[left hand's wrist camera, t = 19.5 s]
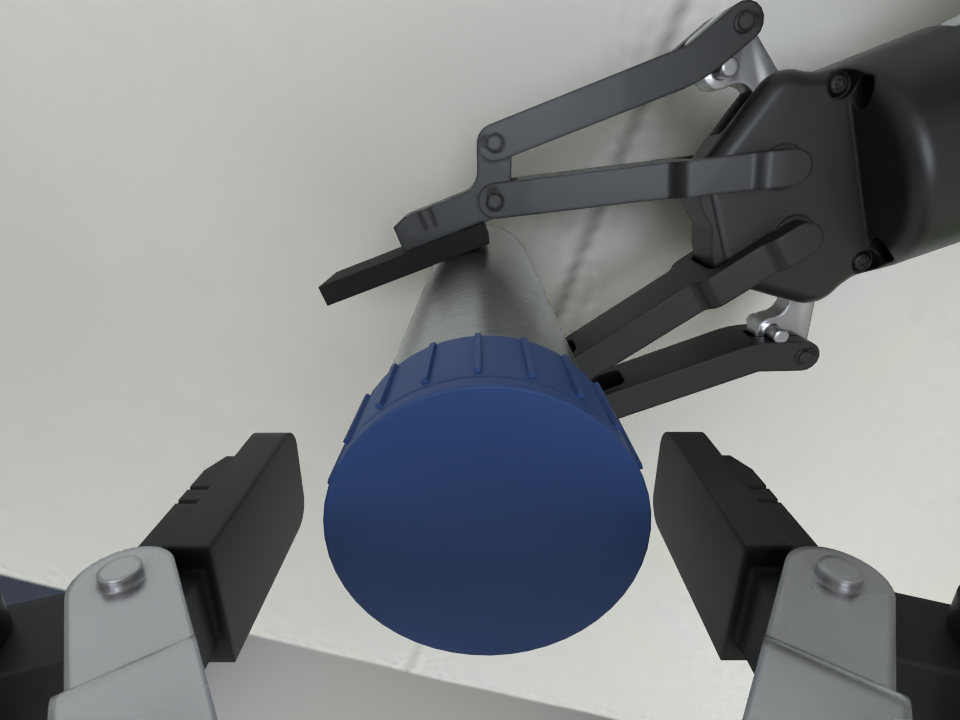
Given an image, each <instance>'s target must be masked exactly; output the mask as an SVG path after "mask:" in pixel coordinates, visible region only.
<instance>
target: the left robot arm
mask: <svg viewBox="0 0 960 720" xmlns="http://www.w3.org/2000/svg"><path fill="white" fill-rule="evenodd" d="M653 509H654V516H655V520H656V524H657V526H658V528H659V531H660V533H661V535H662V537H663V539H664V541H665V543H666V545H667V547H668V550H669V552H670V554H671V556H672V558H673V560H674V562H675V564H676V566H677V569H678V571H679V573H680V575H681V577H682V579H683V581H684V583H685V585H686V588H687V590H688V592H689V594H690V596H691V598H692V600H693V602H694V604H695V607H696V609H697V611H698V613H699V615H700V617H701V619H702V621H703V623H704V626H705V628H706V630H707V632H708V634H709V636H710V638H711V640H712V642H713V645H714V647H715V649H716V651H717V653H718V655H719V657H720V659H721V660H747V661H748V663H749V665H750V667H751V669H752V671H753V673H754V678H753V682H752V685H751V689H750V693H749V697H748V700H747V704H746V708H745V712H744V715H743V719H742V720H960V585H959V587H958V589H957V591H956V594H955V596H954V599H953V601H952V604H951V605H950V604H945V603H941V602H936V601H932V600H927V599H922V598H918V597H913V596H909V595H904V594H900V593H895V592H894V590H893V588H892V586H891V585H890V584H889V582H888V581H887V580H886V579H885V578H884V577H883V576H882V575H881V574H880V573H879V572H878V571H877V570H875V569H874V568H873V567H871V566H870V565H868V564H867V563H865V562H863V561H861V560H860V559H858V558H855V557H853V556H851V555H849V554H846V553H844V552H841V551H837V550H834V549H830V548H825V547H818V546H817V544H816V543H815V542H814V541H813V540H812V539H811V537H810V536H809V535H808V534H807V533H806V532H805V530H804V529H803V528H802V527H801V526H800V525H799V523H798V522H797V521H796V520H795V519H794V518H793V516H792V515H791V514H790V513H789V512H788V511H787V509H786V508H785V507H784V506H783V505H782V504H781V503H778V499H777V498H776V497H775V495H774V494H773V493H772V492H771V491H770V490H769V489H766V485H765V484H764V483H763V481H762V480H761V479H760V478H759V477H758V476H757V474H756V473H755V472H754V471H753V470H752V469H751V468H749V467H748V466H746V465H744V464H743V463H741V462H740V461H738V460H736V459H735V458H733V457H732V456H730V455H721V454H720V452H719V451H718V450H717V448H716V447H715V446H714V445H713V443H712V442H711V441H710V440H709V438H708V437H707V436H706V435H705V434H704V433H703V432H665V433H664V434H663V436H662V439H661V443H660V450H659V457H658V465H657V472H656V480H655V487H654V495H653ZM303 512H304V494H303V486H302V479H301V472H300V464H299V457H298V450H297V443H296V439H295V437H294V435H293V434H292V433H254V434H252V435H251V437H250V438H249V439H248V440H247V442H246V443H245V444H244V445H243V446H242V448H241V449H240V450H239V451H238V453H237V454H236V455H235V456H226V457H225V458H223V459H222V460H220V461H219V462H217V463H215V464H214V465H212V466H211V467H209V468H207V469H206V470H204V471H203V473H202V474H201V475H200V476H199V477H198V478H197V479H196V481H195V482H194V483H193V484H192V485H191V486H190V490H187V491H186V492H185V493H184V494H183V496H182V497H181V498H180V499H179V502H178V504H175V505H174V506H173V507H172V508H171V510H170V511H169V512H168V513H167V514H166V515H165V516H164V518H163V519H162V520H161V521H160V522H159V523H158V525H157V526H156V527H155V528H154V529H153V530H152V531H151V533H150V534H149V535H148V536H147V537H146V538H145V540H144V541H143V542H142V543H141V544H140V545H139V546H138V547H135V548H130V549H126V550H123V551H119V552H116V553H114V554H111V555H109V556H107V557H105V558H102V559H100V560H99V561H97V562H95V563H93V564H92V565H90V566H89V567H87V568H86V569H85V570H83V571H82V572H81V573H80V574H79V575H78V576H77V577H76V578H75V579H74V580H73V581H72V582H71V584H70V585H69V586H68V588H67V590H66V593H63V594H59V595H55V596H50V597H45V598H41V599H37V600H32V601H27V602H23V603H18V604H14V605H9V606H6V604H5V601H4V599H3V596H2V594H1V591H0V720H218V719H217V715H216V712H215V708H214V704H213V701H212V697H211V693H210V689H209V685H208V682H207V678H206V674H205V668H206V666H207V664H208V662H235V661H236V659H237V657H238V655H239V653H240V650H241V648H242V646H243V644H244V642H245V640H246V638H247V636H248V634H249V632H250V630H251V628H252V626H253V624H254V621H255V619H256V617H257V615H258V613H259V611H260V609H261V607H262V605H263V603H264V601H265V599H266V596H267V594H268V592H269V590H270V588H271V586H272V584H273V582H274V580H275V578H276V576H277V574H278V572H279V569H280V567H281V565H282V563H283V561H284V559H285V557H286V555H287V553H288V551H289V549H290V547H291V544H292V542H293V540H294V538H295V536H296V534H297V532H298V530H299V528H300V525H301V522H302V518H303Z"/></svg>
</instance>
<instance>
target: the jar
mask: <svg viewBox="0 0 960 720" xmlns="http://www.w3.org/2000/svg"><path fill="white" fill-rule="evenodd" d="M486 227H487V230H488V232H489V241H490V244H488V245H485V246H482V247H480V248H477V249H475V250H472V251H469V252H467V253H464V254H461V255H459V256H456V257H454V258H451V259H448V260H446V261H443V262H441V263H438V264H435V265H433V268H432V270H431V273H430V275H429V277H428V280H427V282H426V285H425V287H424V290H423V292H422V294H421V297H420V299H419V302H418V304H417V306H416V309H415V311H414V314H413V316H412V319H411V321H410V323H409V326H408V328H407V331H406V333H405V335H404V338H403V340H402V343H401V345H400V347H399V350H398V352H397V355H396V357H395V360H394V362H393V364H394V363H396V364H397V365H398V364H400V363H401V362H403V361H404V360H406V359H407V358H408V357H410V356H411V355H413V354H415V353H417V352H419V351H421V350H423V349H425V348H427V347H429V344H430V343H432V342H435V343H436V344H438V343H441V342H444V341H447V340H452V339H456V338H461V337H469V336H475V333H481V335H489V336H505V337H511V338H517V339H521V337H525V338H527V340H528V342H532V343H535V344H538V345H540V346H543V347H545V348H547V349H550V350H552V351H554V352H556V353H557V354H559V355H561V356H563V354H565V355H567V356H568V357H569V359H570V361H571V363H573V364H574V365H575V366H576V367H578V368H579V366H578V364H577V362H576V360H575V358H574V355H573V353H572V351H571V349H570V347H569V344H568V342H567V340H566V338H565V336H564V334H563V331H562V329H561V327H560V325H559V323H558V320H557V318H556V316H555V314H554V312H553V309H552V307H551V305H550V303H549V301H548V299H547V296H546V294H545V292H544V290H543V288H542V285H541V283H540V281H539V279H538V277H537V274H536V272H535V270H534V268H533V266H532V263H531V261H530V259H529V257H528V255H527V253H526V251H525V249H524V247H523V246H522V244H521V243H520V242H519V241H518V240H517V239H516V238H515V237H514V236H513V235H512V234H511V233H509V232H507V231H506V230H504V229H501V228H499V227H496V226H492V225H486ZM393 364H392V365H393Z"/></svg>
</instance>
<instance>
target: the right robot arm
mask: <svg viewBox="0 0 960 720" xmlns="http://www.w3.org/2000/svg"><path fill="white" fill-rule="evenodd" d="M763 22H764V14H763V11H762V8H761V6H760V5H759V4H758V3H757V2H755V1H752V0H744V1H741V2H739V3H737V4H736V5H734V6H732V7H730V8H728V9H726V10H725V11H723V12H721V13H719V14H718V15H716V16H715V17H713V18H711V19H710V20H708V21H706V22H705V23H704V24H702V25H701V26H700V27H699V28H698V29H697V30H696V31H694V32H693V33H692V34H691V35H690V36H689V37H688V38H686V39H685V40H684V41H683V42H682V43H681V44H679V45H678V46H677V47H676V48H675V49H674V50H673V51H671V52H669V53H667V54H664V55H662V56H659V57H657V58H654V59H652V60H649V61H647V62H644V63H642V64H639V65H637V66H634V67H632V68H629V69H627V70H624V71H622V72H619V73H617V74H614V75H612V76H609V77H607V78H604V79H602V80H599V81H597V82H594V83H592V84H589V85H587V86H584V87H582V88H579V89H577V90H574V91H572V92H569V93H567V94H564V95H562V96H559V97H557V98H555V99H552V100H550V101H547V102H545V103H542V104H540V105H537V106H535V107H532V108H530V109H527V110H525V111H522V112H520V113H517V114H515V115H512V116H510V117H507V118H505V119H502V120H500V121H497V122H495V123H492V124H490V125H488V126H486V127H485V128H483V129H482V130H481V132H480V133H479V135H478V139H477V177H476V180H475V182H474V183H473V185H472V186H471V187H470V188H469V189H467V190H465V191H463V192H461V193H458V194H456V195H453V196H451V197H448V198H446V199H443V200H441V201H438V202H436V203H433V204H431V205H428V206H426V207H423V208H421V209H418V210H416V211H413V212H411V213H408V214H407V215H406V216H405V217H404V218H403V219H402V220H401V221H400V222H399V223H398V224H397V225H396V226H395V227H394V229H395V232H396V234H397V237H398V239H399V241H400V244H401V246H402V247H400V248H397V249H395V250H392V251H390V252H387V253H385V254H382V255H379V256H377V257H374V258H372V259H369V260H367V261H364V262H361V263H359V264H356V265H354V266H351V267H349V268H346V269H344V270H341V271H338V272H336V273H335V274H334V275H333V276H331V277H330V278H329V279H328V280H327V281H326V282H324V283H323V284H322V285H321V286H320V287H319V289H320V291H321V293H322V296H323V298H324V300H325V302H326V304H327V306H328V305H331V304H333V303H336V302H339V301H341V300H344V299H346V298H349V297H352V296H354V295H357V294H360V293H362V292H365V291H367V290H370V289H373V288H375V287H378V286H380V285H383V284H386V283H388V282H391V281H393V280H396V279H399V278H401V277H404V276H407V275H409V274H412V273H414V272H417V271H420V270H422V269H425V268H427V267H430V266H433V265H435V264H438V263H441V262H443V261H446V260H448V259H451V258H454V257H456V256H459V255H461V254H464V253H467V252H469V251H472V250H475V249H477V248H480V247H482V246H485V245H488V244H490V241H489V232H488V230H487V227H486V224H485V222H486V221H488V220H491V219H494V218H495V219H498V218H506V217H515V216H523V215H532V214H540V213H549V212H557V211H566V210H574V209H583V208H591V207H600V206H608V205H617V204H625V203H634V202H642V201H651V200H659V199H668V198H681V200H682V204H683V207H684V208H685V210H686V212H687V214H688V215H689V217H690V219H691V221H692V246H693V251H692V252H691V253H689V254H687V255H686V256H684V257H683V258H681V259H680V260H678V261H677V262H676V263H674V264H673V265H672V268H671V269H670V271H668V272H667V273H666V274H664V275H662V276H661V277H659V278H658V279H656V280H655V281H653V282H651V283H650V284H648V285H647V286H645V287H644V288H642V289H641V290H639V291H637V292H636V293H634V294H633V295H631V296H630V297H628V298H627V299H625V300H623V301H622V302H620V303H619V304H617V305H616V306H614V307H612V308H611V309H609V310H608V311H606V312H605V313H603V314H602V315H600V316H598V317H597V318H595V319H594V320H592V321H591V322H589V323H587V324H586V325H584V326H583V327H581V328H580V329H578V330H577V331H575V332H573V333H572V334H570V335H569V336H567V337H566V340H567V342H568V344H569V347H570V349H571V351H572V353H573V355H574V358H575V360H576V362H577V364H578V366H579V369H580V370H581V371H583V372H584V374H585V375H586V376H587V377H588V378H589V379H590V380H591V381H592V382H593V383H595V382H598V383H599V384H600V386H601V388H602V390H603V392H604V394H605V396H606V398H607V400H608V402H609V404H610V406H611V408H612V410H613V412H614V413H615V415H616V416H617V417H618V419H619V418H622V417H625V416H628V415H631V414H634V413H637V412H640V411H643V410H646V409H648V408H651V407H654V406H657V405H660V404H663V403H666V402H669V401H672V400H675V399H678V398H681V397H684V396H687V395H690V394H693V393H696V392H699V391H702V390H705V389H708V388H711V387H714V386H717V385H720V384H723V383H726V382H729V381H732V380H734V379H737V378H740V377H743V376H746V375H749V374H752V373H755V372H758V371H800V370H806V369H808V368H810V367H812V366H813V365H814V364H815V363H816V362H817V360H818V358H819V349H818V347H817V346H816V345H815V344H813V343H812V342H810V341H808V340H807V336H808V331H809V326H810V321H811V316H812V311H813V306H814V302H815V301H818V300H820V299H822V298H824V297H826V296H827V295H829V294H830V293H831V292H832V291H833V290H834V289H836V288H837V287H838V286H839V285H840V284H841V283H843V282H844V281H845V280H847V279H848V278H850V277H852V276H854V275H856V274H859V273H863V272H867V271H871V270H875V269H879V268H883V267H887V266H890V265H894V264H897V263H900V262H902V261H905V260H908V259H911V258H914V257H917V256H920V255H923V254H926V253H928V252H931V251H934V250H937V249H940V248H943V247H946V246H949V245H952V244H955V243H957V242H960V15H958V16H955V17H953V18H951V19H948V20H946V21H945V22H943V23H942V24H941V25H940V26H932V27H927V28H924V29H921V30H918V31H916V32H913V33H911V34H908V35H905V36H903V37H900V38H898V39H895V40H893V41H890V42H888V43H885V44H883V45H880V46H878V47H875V48H872V49H870V50H867V51H865V52H862V53H860V54H857V55H855V56H852V57H850V58H847V59H845V60H842V61H839V62H837V63H834V64H832V65H829V66H827V67H824V68H822V69H819V70H816V71H813V72H804V71H799V70H793V69H786V70H781V71H778V70H777V69H776V67H775V65H774V63H773V62H772V60H771V58H770V56H769V55H768V53H767V51H766V50H765V48H764V46H763V44H762V43H761V41H760V39H759V37H758V36H757V35H758V34H759V32H760V31H761V28H762V26H763ZM693 84H695V85H696V86H697V88H698V89H699V90H701V91H703V92H713V91H717V90H721V89H724V88H726V87H728V86H730V87H733V88H735V89H737V90H738V91H739V93H740V94H739V96H738V97H737V98H736V100H735V101H734V102H733V104H732V105H731V107H730V108H729V109H728V111H727V112H726V113H725V115H724V116H723V117H722V119H721V120H720V121H719V123H718V124H717V125H716V127H715V128H714V129H713V131H712V132H711V133H710V135H709V136H708V137H707V139H706V140H705V141H704V143H703V144H702V145H701V147H700V148H699V149H698V151H697V152H696V153H695V155H690V156H682V157H674V158H665V159H657V160H652V161H646V162H638V163H629V164H621V165H613V166H605V167H596V168H588V169H580V170H572V171H563V172H555V173H547V174H538V175H530V176H522V177H514V178H511V156H514V155H516V154H519V153H521V152H524V151H526V150H529V149H531V148H534V147H537V146H539V145H542V144H544V143H547V142H549V141H552V140H554V139H557V138H560V137H562V136H565V135H567V134H570V133H572V132H575V131H577V130H580V129H583V128H585V127H588V126H590V125H593V124H595V123H598V122H600V121H603V120H606V119H608V118H611V117H613V116H616V115H618V114H621V113H623V112H626V111H628V110H631V109H634V108H636V107H639V106H641V105H644V104H646V103H649V102H651V101H654V100H657V99H659V98H662V97H664V96H667V95H669V94H672V93H674V92H677V91H680V90H682V89H684V88H687V87H689V86H691V85H693ZM749 289H751V290H755V291H758V292H762V293H766V294H769V295H773V296H776V297H777V300H776V301H775V303H774V304H773V305H772V306H771V307H770V308H768V309H766V310H763V311H760V312H757V313H752V314H750V315H749V316H748V317H747V319H746V323H747V324H743V325H734V326H729V327H724V328H721V329H717V330H714V331H711V332H708V333H706V334H703V335H700V336H697V337H694V338H691V339H689V340H686V341H683V342H680V343H677V344H674V345H671V346H669V347H666V348H663V349H660V350H657V351H654V352H651V353H649V354H646V355H643V356H640V357H637V358H634V359H632V360H629V361H626V362H623V363H620V364H617V363H619V362H621V361H622V360H624V359H626V358H627V357H629V356H630V355H632V354H634V353H635V352H637V351H639V350H640V349H642V348H644V347H645V346H647V345H648V344H650V343H652V342H653V341H655V340H657V339H658V338H660V337H661V336H663V335H665V334H666V333H668V332H670V331H671V330H673V329H674V328H676V327H678V326H679V325H681V324H683V323H684V322H686V321H687V320H689V319H691V318H692V317H694V316H696V315H697V314H699V313H700V312H702V311H704V310H707V309H713V308H718V307H721V306H723V305H725V304H726V303H728V302H730V301H731V300H733V299H735V298H736V297H738V296H739V295H741V294H743V293H744V292H746V291H748V290H749ZM616 364H617V365H616Z"/></svg>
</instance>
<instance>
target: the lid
mask: <svg viewBox="0 0 960 720" xmlns="http://www.w3.org/2000/svg"><path fill="white" fill-rule="evenodd" d="M343 442H344V443H345V444H344V446H343V449H342V451H341V453H340V455H339V457H338V459H337V461H336V464H335V466H334V468H333V470H332V472H331V474H330V476H329V479H328V484H329V486H328V491H327V495H326V499H325V504H324V517H323V523H324V535H325V541H326V545H327V549H328V553H329V557H330V559H331V562H332V564H333V567H334V569H335V572H336V573H337V575H338V577H339V579H340V580H341V582H342V584H343V585H344V587H345V588H346V590H347V591H348V592H349V593H350V595H351V596H352V597H353V598H354V600H355V601H356V602H357V603H358V604H359V605H360V606H361V607H362V608H363V609H364V610H365V611H366V612H367V613H368V614H369V615H371V616H372V617H373V618H375V619H376V620H377V621H379V622H380V623H381V624H383V625H384V626H386V627H387V628H389V629H391V630H392V631H394V632H396V633H397V634H399V635H401V636H404V637H406V638H408V639H410V640H412V641H414V642H417V643H420V644H423V645H426V646H429V647H432V648H435V649H439V650H444V651H448V652H453V653H461V654H469V655H503V654H513V653H519V652H525V651H530V650H534V649H538V648H541V647H545V646H548V645H551V644H553V643H556V642H559V641H561V640H564V639H566V638H568V637H570V636H572V635H574V634H576V633H578V632H580V631H582V630H583V629H585V628H586V627H588V626H589V625H591V624H592V623H594V622H595V621H597V620H598V619H599V618H600V617H602V616H603V615H604V614H605V613H606V612H607V611H609V610H610V609H611V608H612V607H613V606H614V605H615V604H616V603H617V602H618V600H619V599H620V598H621V597H622V596H623V595H624V594H625V592H626V591H627V589H628V588H629V586H630V585H631V584H632V582H633V581H634V579H635V577H636V575H637V573H638V571H639V569H640V567H641V565H642V563H643V560H644V557H645V554H646V551H647V548H648V542H649V537H650V531H651V508H650V501H649V494H648V491H647V488H646V484H645V481H644V478H643V475H642V473H641V471H640V469H643V467H642V463H641V462H640V460H639V458H638V456H637V454H636V452H635V450H634V448H633V446H632V444H631V442H630V440H629V438H628V436H627V434H626V433H625V431H624V429H623V427H622V425H621V423H620V421H619V419H618V417H617V416H616V415H615V413H614V412H613V410H612V408H611V406H610V404H609V402H608V400H607V398H606V396H605V394H604V392H603V390H602V388H601V386H600V384H599V383H598V382H595V383H593V382H592V381H591V380H590V379H589V378H588V377H587V376H586V375H585V374H584V372H583V371H581V370H580V369H579V368H578V367H576V366H575V365H574V364H573V363H571V361H570V359H569V357H568V356H567V355H565V354H563V356H561V355H559V354H557V353H556V352H554V351H552V350H550V349H547V348H545V347H543V346H540V345H538V344H535V343H532V342H528V340H527V338H525V337H521V339H517V338H511V337H505V336H489V335H481V333H475V336H469V337H461V338H456V339H452V340H447V341H444V342H441V343H438V344H436V343H435V342H432V343H430V344H429V347H427V348H425V349H423V350H421V351H419V352H417V353H415V354H413V355H411V356H410V357H408V358H407V359H406V360H404V361H403V362H401V363H400V364H398V365H397V364H396V363H394V364H393V365H392V366H391V368H390V370H389V373H388V374H387V375H386V376H385V377H384V378H383V379H382V380H381V382H380V383H379V384H378V385H377V386H376V388H375V389H374V390H373V392H372V393H371V395H369V394H366V395H365V397H364V399H363V401H362V403H361V405H360V407H359V409H358V411H357V414H356V416H355V418H354V420H353V422H352V424H351V426H350V428H349V430H348V433H347V435H346V437H345V439H344V441H343Z"/></svg>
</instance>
